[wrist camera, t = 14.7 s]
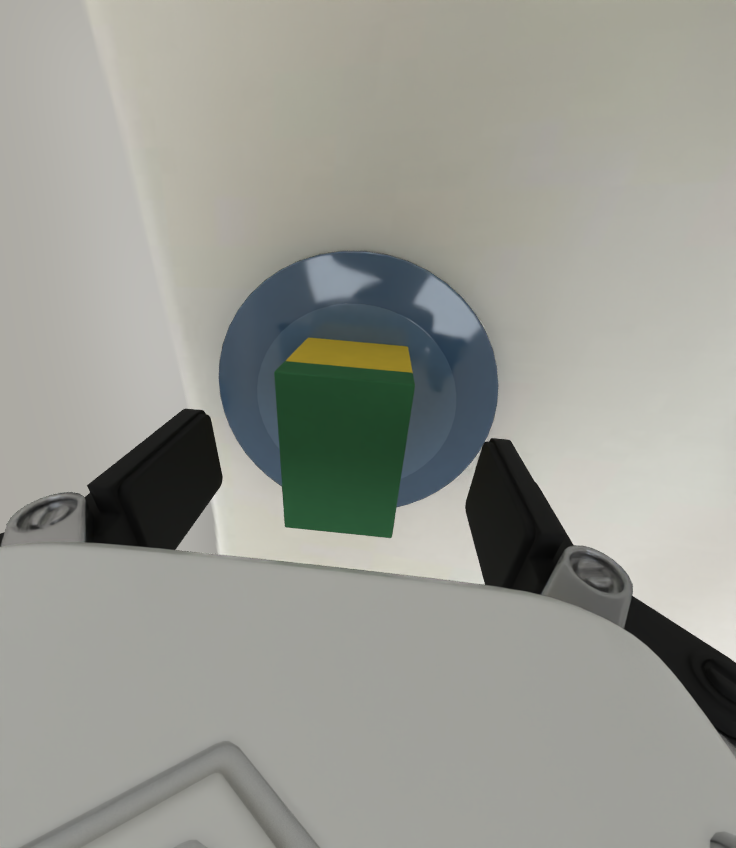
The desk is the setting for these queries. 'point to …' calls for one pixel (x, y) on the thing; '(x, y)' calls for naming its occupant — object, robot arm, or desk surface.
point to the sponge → (343, 434)
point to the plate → (370, 323)
